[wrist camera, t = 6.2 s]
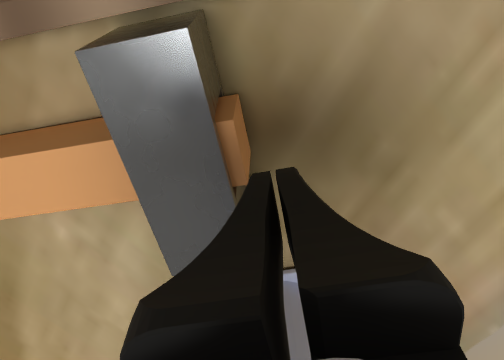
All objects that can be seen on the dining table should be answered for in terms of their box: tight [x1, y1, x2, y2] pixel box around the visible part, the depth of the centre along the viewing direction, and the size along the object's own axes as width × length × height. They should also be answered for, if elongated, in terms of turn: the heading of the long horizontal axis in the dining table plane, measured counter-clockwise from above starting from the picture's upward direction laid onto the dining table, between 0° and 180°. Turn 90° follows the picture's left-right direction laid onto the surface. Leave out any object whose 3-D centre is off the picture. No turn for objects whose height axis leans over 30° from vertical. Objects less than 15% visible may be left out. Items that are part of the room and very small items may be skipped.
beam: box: [75, 9, 246, 276], centre depth 17 cm, size 11×4×5 cm, turn 11°
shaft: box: [0, 94, 251, 220], centre depth 18 cm, size 16×3×3 cm, turn 101°
